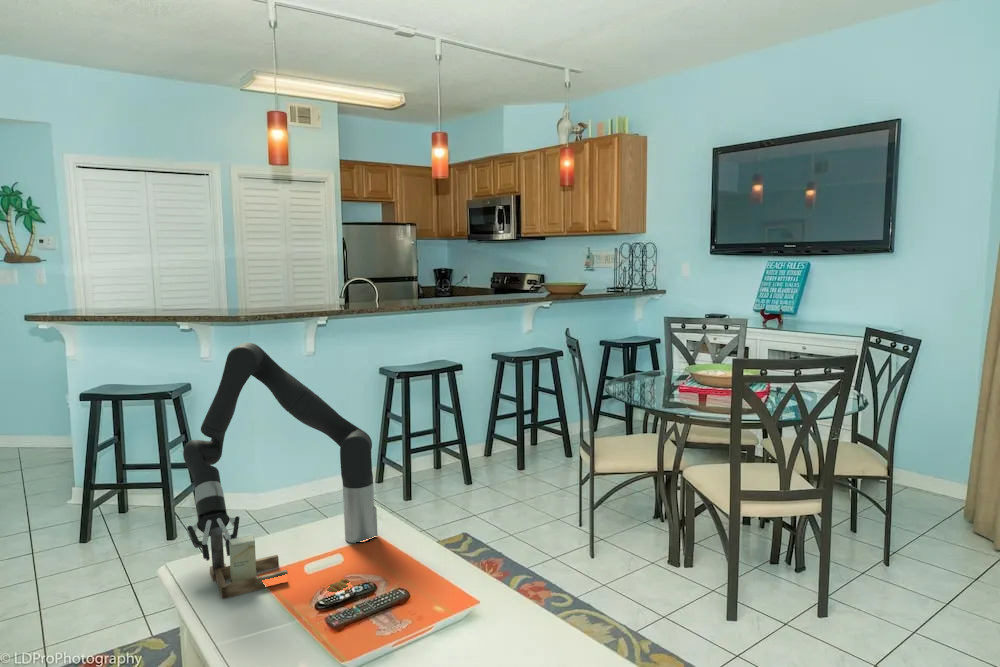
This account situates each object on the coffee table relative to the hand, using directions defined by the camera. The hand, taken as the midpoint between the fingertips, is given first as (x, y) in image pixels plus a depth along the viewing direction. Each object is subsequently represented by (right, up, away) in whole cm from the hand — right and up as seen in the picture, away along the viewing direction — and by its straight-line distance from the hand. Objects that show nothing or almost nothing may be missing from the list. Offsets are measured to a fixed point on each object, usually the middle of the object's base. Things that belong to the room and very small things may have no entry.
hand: (218, 556), depth 177 cm
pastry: (+36, -6, -13) cm, 38 cm away
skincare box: (+9, -6, -4) cm, 11 cm away
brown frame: (+8, -5, -1) cm, 10 cm away
